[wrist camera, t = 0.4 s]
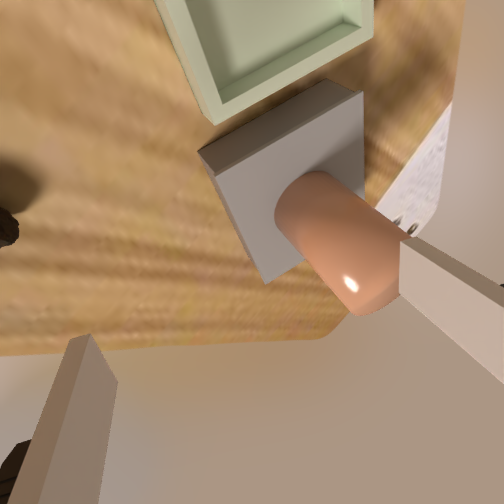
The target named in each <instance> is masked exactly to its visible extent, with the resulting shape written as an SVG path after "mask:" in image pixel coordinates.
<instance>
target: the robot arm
mask: <svg viewBox="0 0 504 504" xmlns="http://www.w3.org/2000/svg"><path fill="white" fill-rule="evenodd" d="M399 293H400V294H401V295H402V296H403V297H404V298H405V299H406V300H408V301H409V302H410V303H411V304H412V305H413V306H414V307H416V308H417V309H418V310H419V311H420V312H421V313H423V314H424V315H425V316H426V317H427V318H428V319H429V320H431V321H432V322H433V323H434V324H435V325H436V326H437V327H439V328H440V329H441V330H442V331H443V332H444V333H445V334H447V335H448V336H449V337H450V338H451V339H453V341H455V342H456V343H457V344H458V345H460V346H461V347H462V348H463V349H464V350H465V351H466V352H467V353H468V354H470V355H471V356H472V357H473V358H474V359H475V360H476V361H478V362H479V363H480V364H481V365H482V366H484V367H485V368H486V369H487V370H488V371H489V372H490V373H491V374H493V375H494V376H495V377H496V378H497V379H498V380H500V381H501V382H502V383H503V384H504V284H501V285H498V284H496V283H495V282H493V281H491V280H490V279H488V278H486V277H485V276H483V275H481V274H479V273H478V272H476V271H474V270H473V269H471V268H469V267H467V266H466V265H464V264H462V263H461V262H459V261H457V260H456V259H454V258H452V257H450V256H449V255H447V254H445V253H444V252H442V251H440V250H438V249H437V248H435V247H433V246H432V245H430V244H428V243H426V242H425V241H423V240H421V239H419V238H418V237H413V238H409V239H406V240H403V241H400V265H399ZM117 384H118V381H117V379H116V378H115V376H114V374H113V372H112V371H111V369H110V367H109V365H108V363H107V362H106V360H105V358H104V357H103V355H102V353H101V351H100V349H99V347H98V346H97V344H96V342H95V340H94V339H93V337H92V335H91V333H90V334H86V335H83V336H80V337H76V338H73V339H70V341H69V343H68V346H67V349H66V351H65V354H64V357H63V359H62V362H61V365H60V367H59V370H58V372H57V375H56V377H55V380H54V383H53V385H52V388H51V391H50V393H49V396H48V398H47V401H46V404H45V406H44V409H43V411H42V414H41V417H40V419H39V422H38V424H37V427H36V430H35V432H34V435H33V437H32V439H31V440H28V441H24V442H21V443H18V444H17V445H16V446H15V447H14V449H13V450H12V452H11V453H10V454H9V455H8V457H7V458H6V459H5V461H4V462H3V463H2V465H1V468H0V504H98V500H99V495H100V488H101V482H102V476H103V470H104V464H105V457H106V452H107V446H108V439H109V433H110V427H111V420H112V415H113V408H114V403H115V397H116V390H117Z"/></svg>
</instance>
